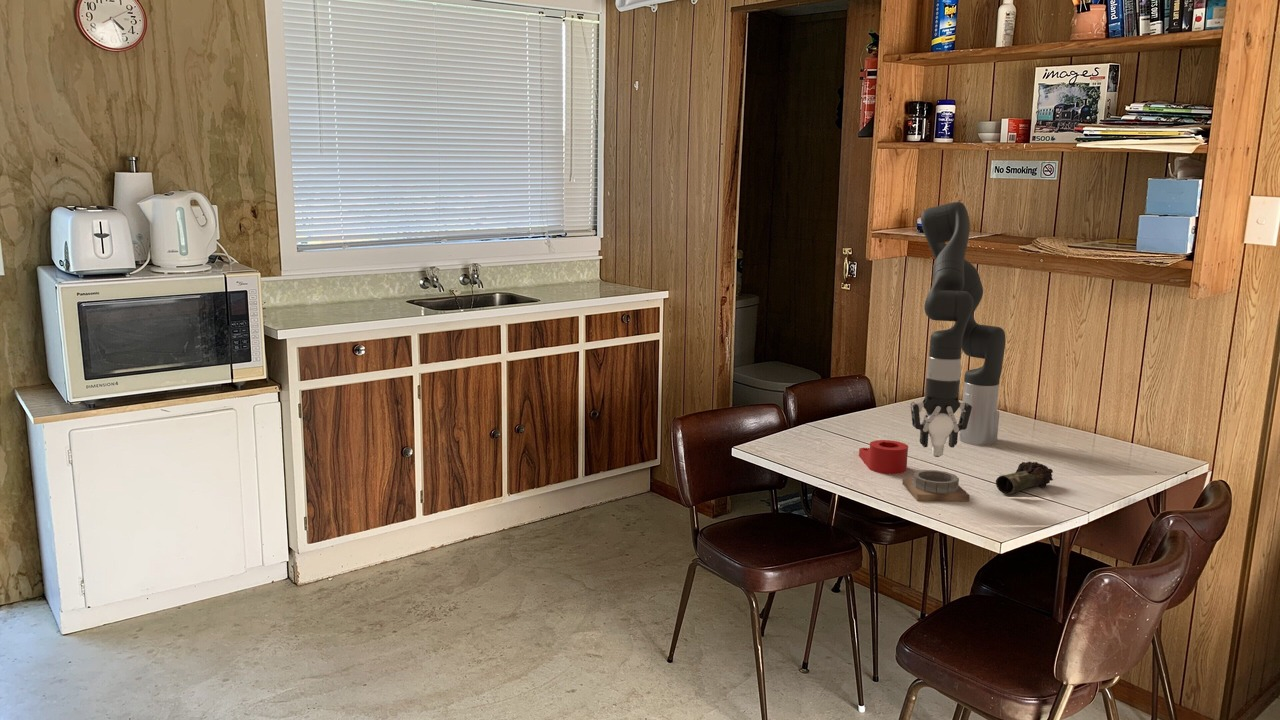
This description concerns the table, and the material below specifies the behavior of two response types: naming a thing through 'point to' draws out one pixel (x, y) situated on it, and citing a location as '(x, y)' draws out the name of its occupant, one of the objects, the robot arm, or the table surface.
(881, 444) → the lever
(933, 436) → the lightbulb
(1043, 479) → the vacuum brush nozzle
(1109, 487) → the table surface
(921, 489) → the socket board
